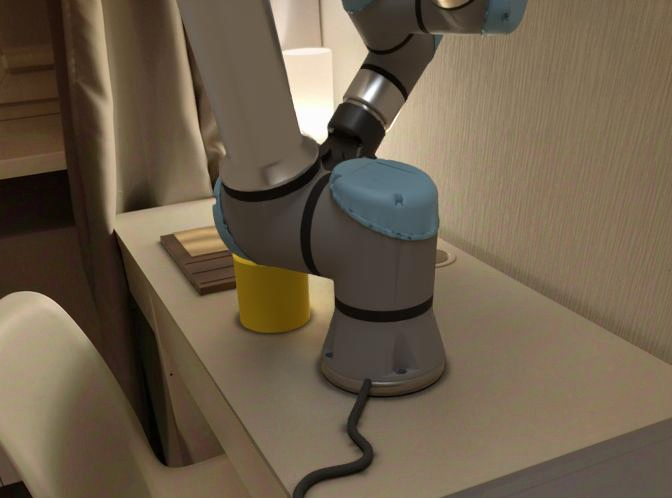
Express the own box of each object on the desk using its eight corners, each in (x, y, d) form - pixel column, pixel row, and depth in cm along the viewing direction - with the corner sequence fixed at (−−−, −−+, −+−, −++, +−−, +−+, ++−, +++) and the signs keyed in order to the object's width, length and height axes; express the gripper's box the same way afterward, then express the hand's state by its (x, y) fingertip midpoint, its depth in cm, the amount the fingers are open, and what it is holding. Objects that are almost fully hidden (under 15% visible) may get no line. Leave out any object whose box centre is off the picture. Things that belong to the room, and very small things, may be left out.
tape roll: (275, 296, 109) (270, 233, 103) (324, 313, 103) (322, 249, 97) (225, 319, 103) (217, 255, 98) (274, 339, 98) (268, 272, 92)
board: (303, 273, 115) (303, 265, 114) (200, 295, 110) (199, 286, 110) (250, 225, 134) (249, 218, 134) (160, 242, 130) (159, 234, 129)
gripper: (445, 150, 92) (358, 296, 94) (321, 122, 108) (249, 247, 110) (418, 112, 87) (326, 268, 89) (290, 88, 102) (215, 221, 104)
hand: (283, 257), depth 99 cm, fingers open, 13 cm apart
